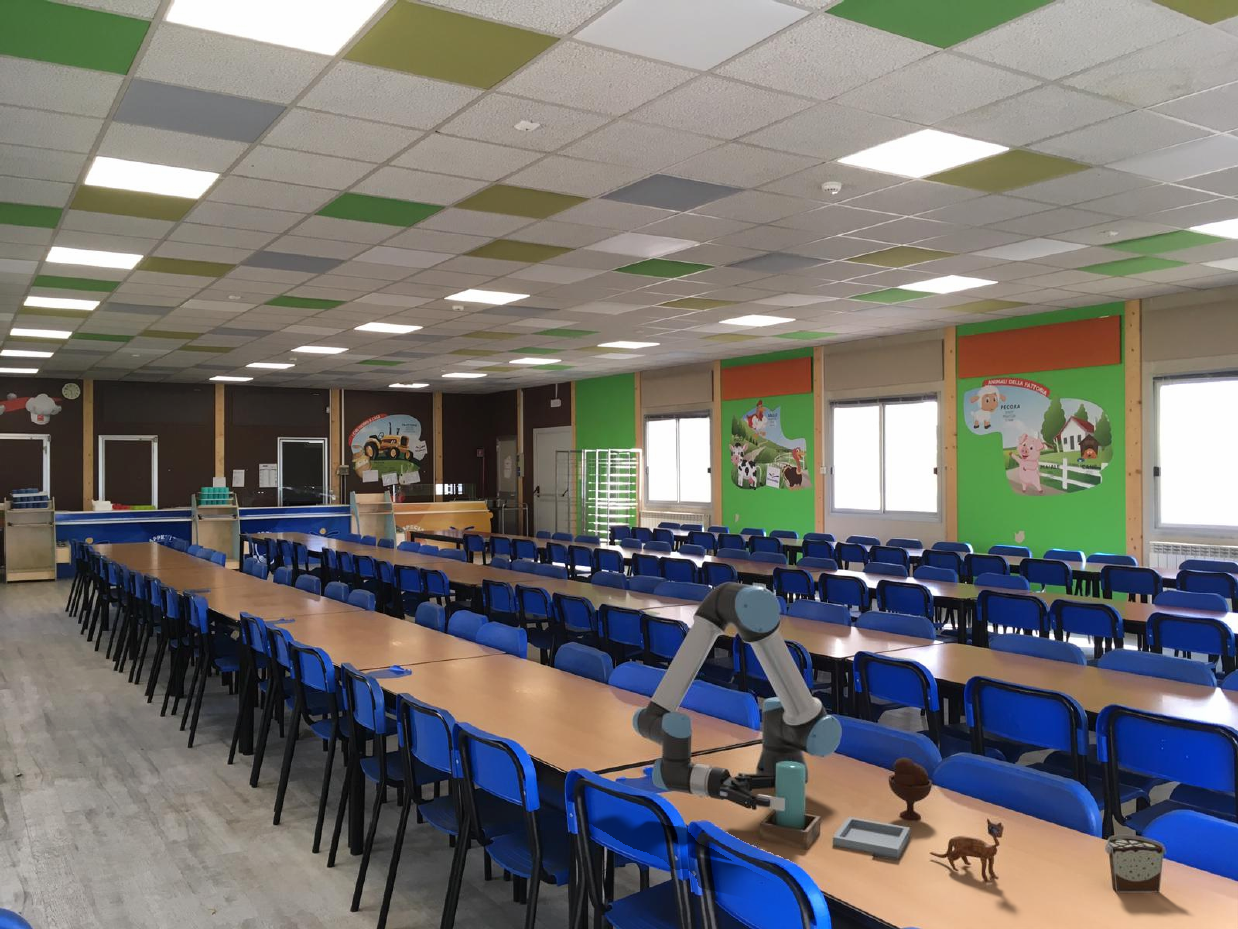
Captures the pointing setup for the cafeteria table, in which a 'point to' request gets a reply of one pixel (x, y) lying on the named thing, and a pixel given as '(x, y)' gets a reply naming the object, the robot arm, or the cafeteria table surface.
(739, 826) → the cafeteria table surface
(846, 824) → the tray
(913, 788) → the ice cream bowl
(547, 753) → the cafeteria table surface
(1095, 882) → the cafeteria table surface
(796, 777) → the teal jar
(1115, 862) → the food container
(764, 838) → the open wooden box
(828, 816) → the cafeteria table surface
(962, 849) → the cat figurine
